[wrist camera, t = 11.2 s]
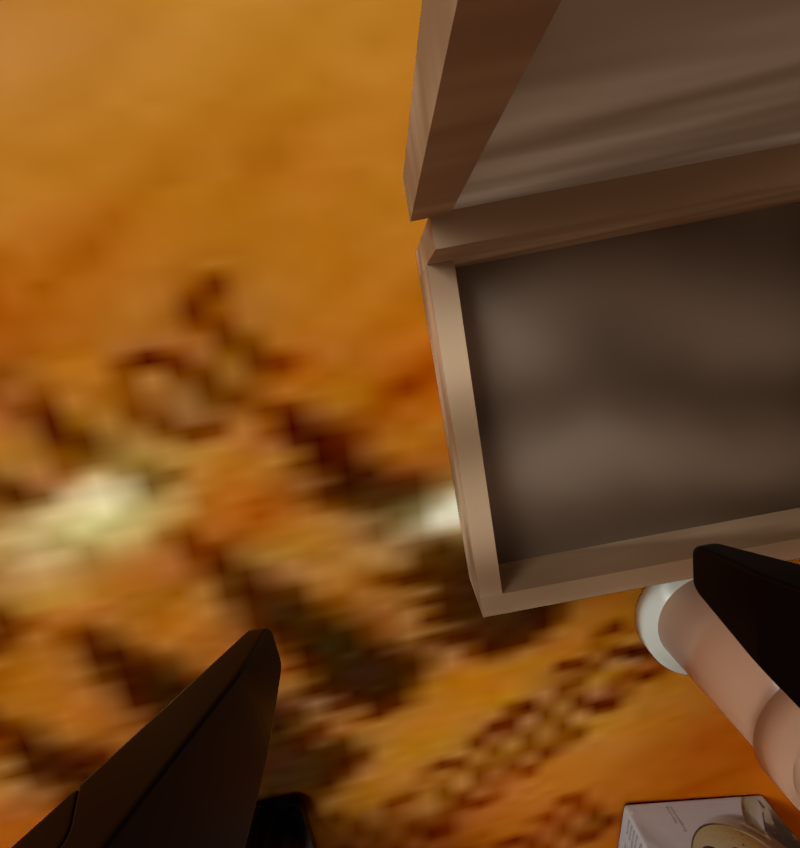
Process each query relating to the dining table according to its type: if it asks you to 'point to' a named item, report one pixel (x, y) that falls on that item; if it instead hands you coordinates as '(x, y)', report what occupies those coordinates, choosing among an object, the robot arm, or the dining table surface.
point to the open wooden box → (611, 283)
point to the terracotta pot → (734, 685)
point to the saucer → (656, 621)
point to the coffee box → (705, 825)
